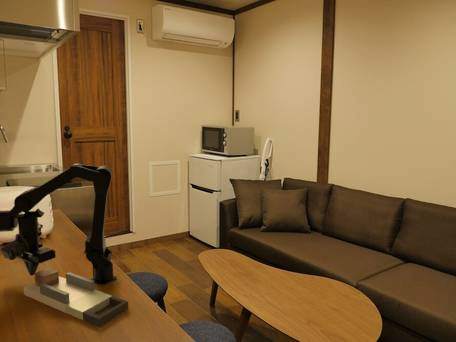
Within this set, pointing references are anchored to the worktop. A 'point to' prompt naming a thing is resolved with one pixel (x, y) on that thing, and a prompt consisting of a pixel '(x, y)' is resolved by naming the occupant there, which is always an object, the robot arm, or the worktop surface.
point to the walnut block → (47, 277)
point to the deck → (71, 298)
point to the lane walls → (63, 295)
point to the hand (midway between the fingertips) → (32, 275)
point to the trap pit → (106, 312)
